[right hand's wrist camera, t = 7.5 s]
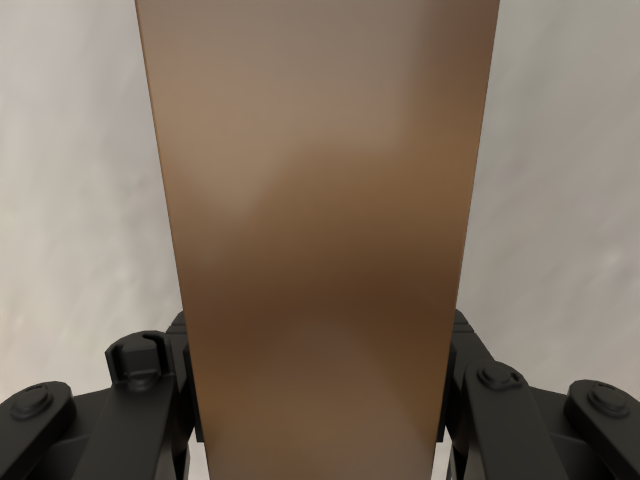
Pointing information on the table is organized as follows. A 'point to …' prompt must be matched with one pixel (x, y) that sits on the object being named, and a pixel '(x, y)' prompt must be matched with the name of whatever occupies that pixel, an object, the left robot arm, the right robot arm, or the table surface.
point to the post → (318, 220)
